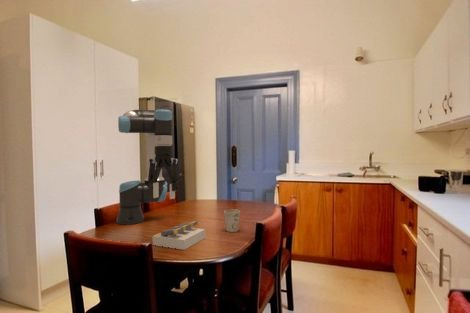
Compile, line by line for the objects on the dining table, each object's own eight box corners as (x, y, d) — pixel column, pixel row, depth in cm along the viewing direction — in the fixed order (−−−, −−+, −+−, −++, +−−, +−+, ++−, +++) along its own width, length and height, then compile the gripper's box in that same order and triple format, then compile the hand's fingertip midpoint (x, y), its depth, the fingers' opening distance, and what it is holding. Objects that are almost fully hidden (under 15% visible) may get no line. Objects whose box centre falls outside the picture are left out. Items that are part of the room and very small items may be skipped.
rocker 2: (169, 232, 132) (168, 228, 132) (174, 229, 136) (174, 226, 136) (186, 229, 128) (185, 226, 128) (191, 227, 132) (190, 224, 132)
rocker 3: (177, 228, 137) (176, 225, 137) (182, 226, 141) (181, 223, 141) (193, 226, 134) (192, 223, 134) (197, 224, 138) (197, 221, 138)
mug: (228, 233, 144) (228, 213, 144) (218, 227, 155) (218, 208, 155) (243, 231, 148) (243, 211, 148) (232, 225, 159) (232, 207, 159)
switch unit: (152, 245, 127) (152, 233, 127) (176, 234, 144) (176, 224, 143) (184, 249, 121) (184, 237, 121) (205, 237, 137) (205, 227, 137)
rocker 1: (161, 235, 126) (160, 232, 126) (166, 233, 130) (166, 229, 130) (178, 233, 123) (177, 229, 123) (183, 230, 127) (183, 227, 127)
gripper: (138, 145, 128) (139, 197, 128) (178, 145, 120) (179, 200, 120) (149, 146, 135) (150, 195, 135) (188, 145, 127) (189, 198, 127)
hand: (164, 197), depth 128 cm, fingers open, 8 cm apart
